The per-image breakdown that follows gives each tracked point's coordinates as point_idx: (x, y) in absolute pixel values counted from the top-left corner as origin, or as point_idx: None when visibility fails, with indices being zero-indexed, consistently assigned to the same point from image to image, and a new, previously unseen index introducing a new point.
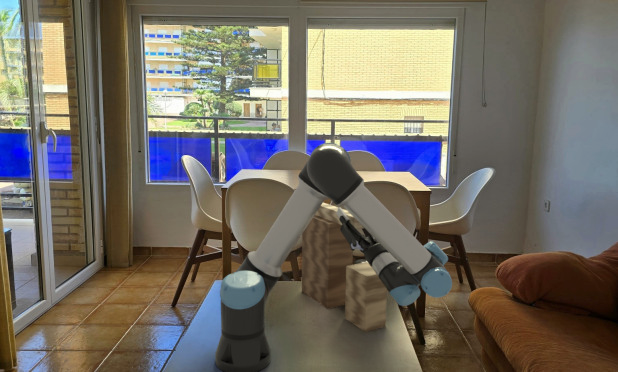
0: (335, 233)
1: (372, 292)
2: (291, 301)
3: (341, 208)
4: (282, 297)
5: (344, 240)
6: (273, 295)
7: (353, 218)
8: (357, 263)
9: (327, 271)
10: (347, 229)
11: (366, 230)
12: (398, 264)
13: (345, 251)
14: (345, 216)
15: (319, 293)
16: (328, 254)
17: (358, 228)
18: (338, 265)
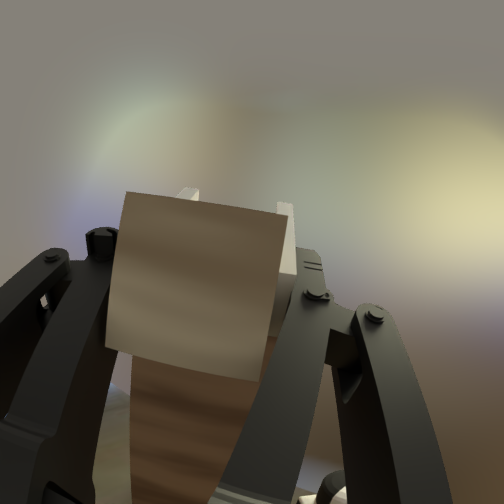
0: None
1: None
2: (108, 482)
3: (194, 192)
4: (113, 462)
5: (228, 411)
6: (109, 447)
7: (130, 210)
8: (326, 486)
9: (133, 487)
10: (8, 297)
11: (245, 421)
12: None
13: (228, 460)
14: None
15: None
16: (130, 435)
17: (166, 354)
18: (183, 493)
